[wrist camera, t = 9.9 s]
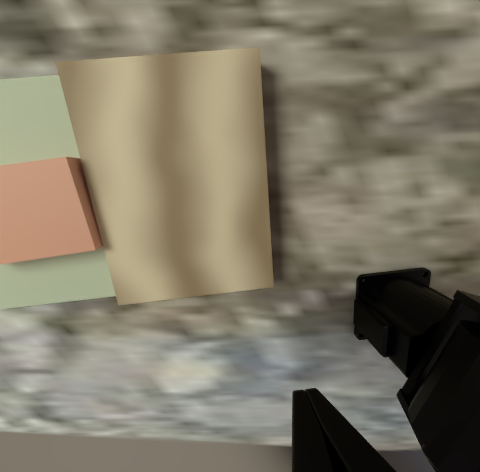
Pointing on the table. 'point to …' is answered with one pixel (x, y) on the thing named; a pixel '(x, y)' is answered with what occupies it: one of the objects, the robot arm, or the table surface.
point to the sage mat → (32, 149)
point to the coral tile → (45, 210)
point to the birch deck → (175, 170)
